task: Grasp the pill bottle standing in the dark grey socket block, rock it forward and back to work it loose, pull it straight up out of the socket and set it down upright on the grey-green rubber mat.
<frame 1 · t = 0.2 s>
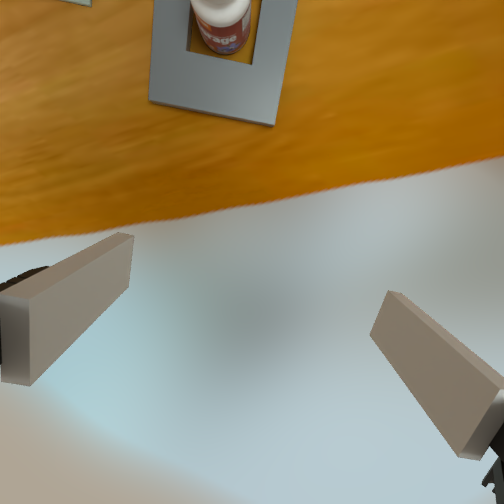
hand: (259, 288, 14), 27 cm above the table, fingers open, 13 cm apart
pill bottle: (225, 27, 34), resting in socket block
socket block: (225, 26, 33), on the table
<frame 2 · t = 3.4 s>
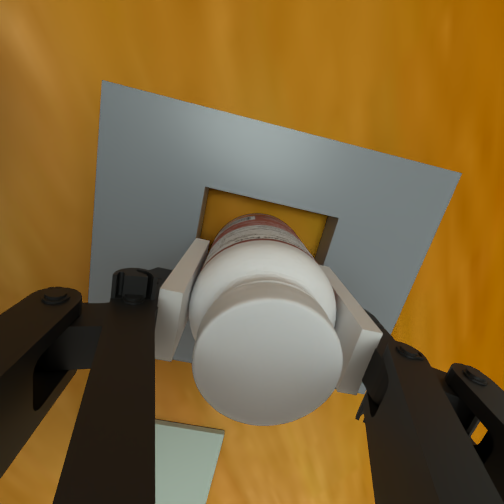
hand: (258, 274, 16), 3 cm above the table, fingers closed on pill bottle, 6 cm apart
mat: (146, 469, 25), on the table
pill bottle: (256, 255, 19), resting in socket block, touching gripper
socket block: (256, 255, 19), on the table
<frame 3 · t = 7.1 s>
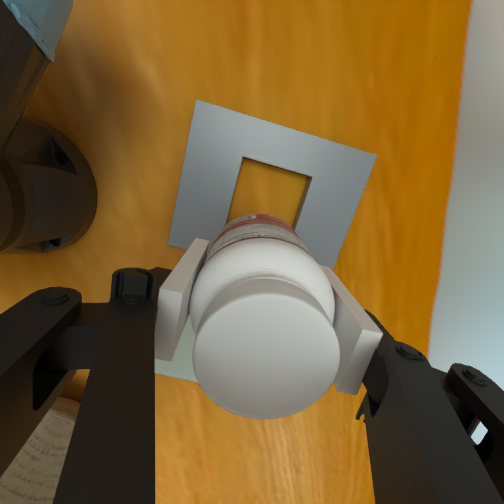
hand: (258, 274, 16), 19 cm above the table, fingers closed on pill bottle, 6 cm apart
mat: (188, 342, 39), on the table
pill bottle: (256, 253, 19), point 15 cm above the table, touching gripper
bowl: (70, 410, 42), on the table
socket block: (266, 200, 33), on the table
when the fingers open (5 cm above the table, at t = 11.0 s): pill bottle drops 1 cm, resting on mat.
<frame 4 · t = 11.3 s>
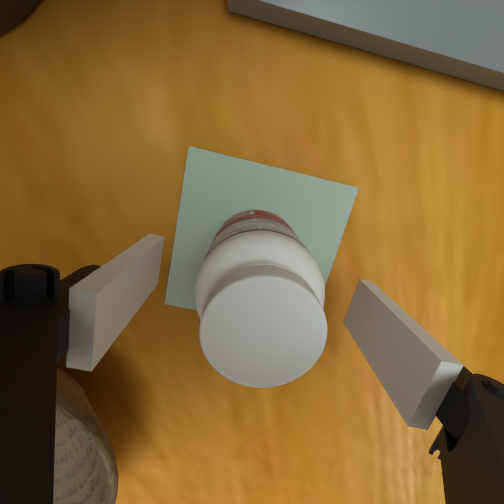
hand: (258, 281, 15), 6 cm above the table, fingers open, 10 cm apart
mat: (255, 247, 21), on the table
pill bottle: (255, 248, 21), resting on mat
bowl: (49, 388, 25), on the table
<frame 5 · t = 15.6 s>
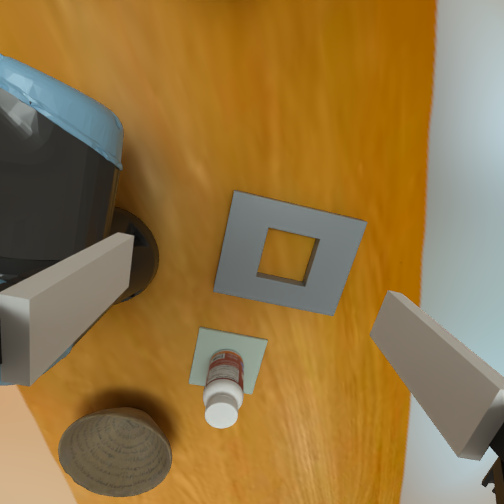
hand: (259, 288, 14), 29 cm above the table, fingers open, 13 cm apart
mat: (227, 361, 49), on the table
pill bottle: (226, 361, 49), resting on mat
bowl: (133, 417, 53), on the table
socket block: (285, 254, 44), on the table
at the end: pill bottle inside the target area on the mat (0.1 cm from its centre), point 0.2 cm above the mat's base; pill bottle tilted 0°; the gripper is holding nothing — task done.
